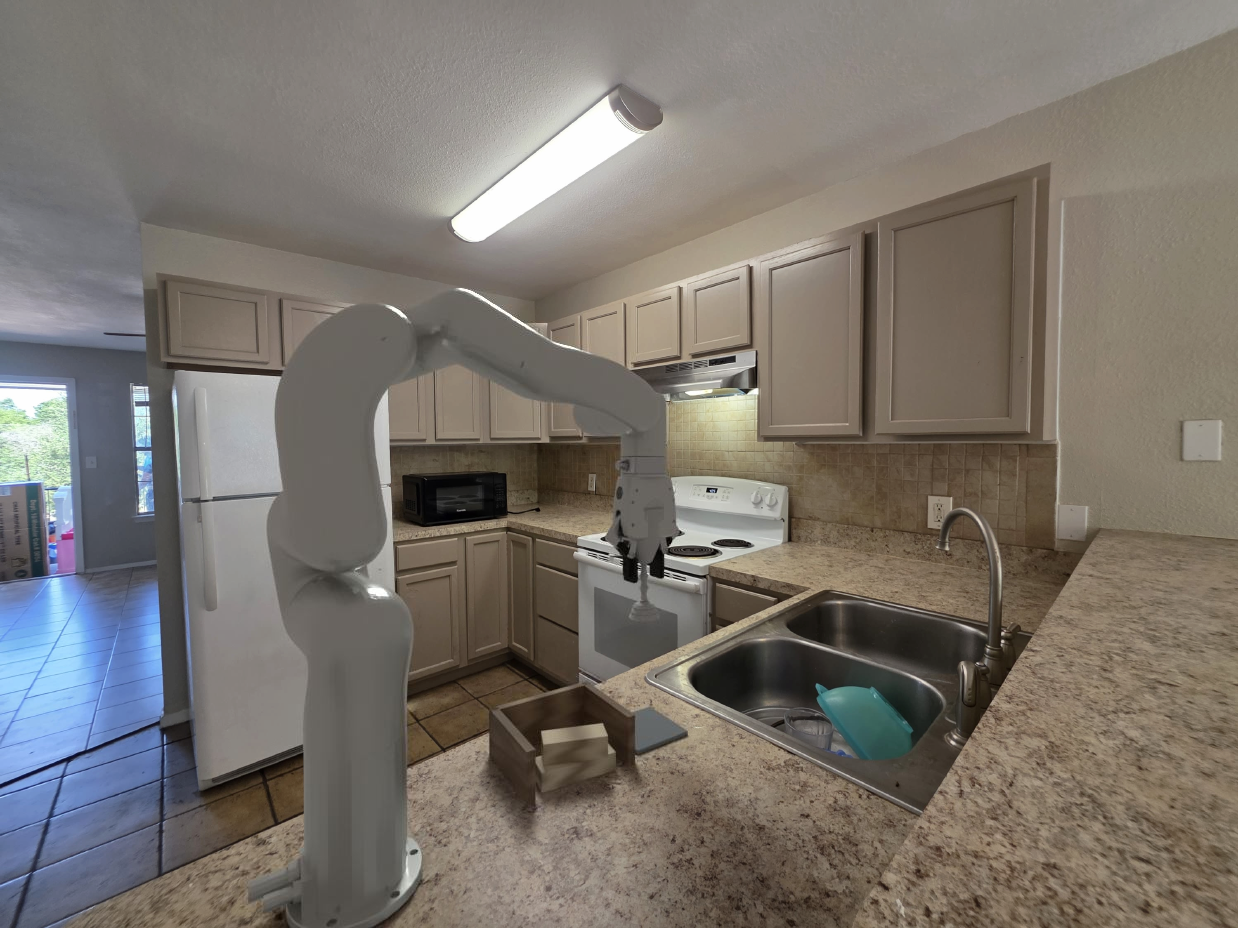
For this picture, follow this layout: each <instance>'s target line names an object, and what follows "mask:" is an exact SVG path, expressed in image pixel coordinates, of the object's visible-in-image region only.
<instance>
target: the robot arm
mask: <svg viewBox="0 0 1238 928" xmlns="http://www.w3.org/2000/svg"><path fill="white" fill-rule="evenodd" d="M455 365H458V366H461V367H462V368H465V369H467V370H469V371H471V372H473V373H475V374H477V375H479V376H480V377H482V378H485V379H487V380H488V381H491V382H492V383H495V384H497V385H498V386H500V387H502V388H504V389H506V390H507V391H510V392H512V393H514V394H515V395H518V396H519V397H522V398H524V399H528V400H532V401H537V402H542V403H550V404H551V403H553V404H567V405H573V407H572V417H573V421H574V423H575V425H576V426H577V428H579V429H580V431H582V432H583V433H584V434H587V435H589V436H594V437H609V436H610V437H612V436H613V437H614V436H618V435H619V436H620V458H619V459H620V460H617V461H615V463H614V467H615V469H616V470H620V471H619V474H620V476H618V477H617V480H616V484H615V489H614V490H615V491H614V498H613V509H612V510H613V511H612V524H611V526H610V528H609V529H608V530H607V532H606V534H605V536H604V539H605V541H606V542H607V543H609V544H610V545H611V546H612V547H613V548H614V549H615V550H616V551H617V552H618V554H619V555H620V556H621V557H622V576H623V577H622V578H623V581H626V582H628V583H631V584H636V583H638V582H639V563H638V559H637V558H635V557H634V556H635V552H636V547H637V543H636V540H643V539H645V538H648V522H647V520H648V518H647V514H645V512H644V511H643V509H660V508H663V510H662V511H661V513H660V515H659V536H660V537H661V540H660V544H659V547H658V549H657V552H656V554H655V556H654V558H653V560H652V562H650V563H648V564H649V566H648V567H649V568H648V569H649V574H648V575H649V577H650V576H651V577H653V578H656V579H661V580H662V579H664V578H665V555H666V554H668V551H669V547H670V546H671V544H672V543H673V540H675V539H676V538H677V536H679V534H680V529H679V527H678V526H677V508H676V499H675V492H674V485H673V481H672V477H671V476H670V475H669V476H667V473H668V472H667V460H668V459H667V450H668V449H667V444H668V443H667V400H666V399H667V398H666V397H665V396H664V394H663V393H660V392H657V391H655V389H654V388H653V387H652V386H651V384H649V383H648V382H647V381H646V380H645V379H644V378H642V377H640V376H639V375H638V374H636V373H635V372H634V371H632V370H631V369H629V368H628V367H626V366H625V365H622V364H621V363H619V362H617V361H615V360H612V359H610V358H607V357H604V356H601V355H598V354H595V353H591V352H588V351H585V350H581V349H579V348H576V347H572V346H569V345H565V344H560V343H558V342H555V341H553V340H551V339H549V338H548V337H546V336H544V335H542V334H541V333H539V332H538V331H537V330H535V329H533V328H531V327H530V326H528V325H527V324H525V323H524V322H522V321H520V320H519V319H517V318H516V317H514V316H512V315H511V314H510V313H508V312H506V311H505V310H503V308H500V307H499V306H497V305H496V304H494V303H492V302H491V301H489V299H488V300H487V299H486V298H484V297H483V296H481V295H480V294H478V293H475V292H474V291H472V290H469V289H465V288H458V287H457V288H449V289H445V290H442V291H441V292H438V293H436V294H434V295H432V296H431V297H429V298H427V299H425V300H423V301H422V302H420V303H417V304H415V305H413V306H411V307H408V308H405V309H401V310H399V309H397V308H396V307H394V306H392V305H390V304H386V303H383V302H376V301H375V302H374V301H373V302H369V301H368V302H367V301H366V302H361V303H360V302H359V303H355V304H353V305H350V306H347V307H345V308H343V309H340V310H339V311H337V312H336V313H334V314H332V315H330V316H329V317H327V318H326V319H324V320H322V321H321V322H320V323H319V324H318V325H316V326H315V327H313V328H312V330H310V331H309V333H308V334H306V336H305V337H304V338H303V339H302V341H301V342H300V343H299V344H298V345H297V347H296V348H295V349H294V351H293V353H292V354H291V356H290V357H289V359H288V361H287V363H286V365H285V367H284V369H283V371H282V374H281V377H280V379H279V382H278V385H277V389H276V394H275V399H274V400H275V402H274V430H275V433H274V434H275V439H276V440H275V441H276V447H277V454H278V465H279V466H278V467H279V472H280V479H281V486H282V491H281V492H279V493H278V495H277V496H276V497H275V498H274V500H273V501H272V503H271V505H270V508H269V509H268V514H267V518H266V539H267V546H268V553H269V557H270V562H271V567H272V573H273V580H274V585H275V591H276V595H277V596H276V597H277V600H278V605H279V610H280V614H281V620H282V623H283V627H284V629H285V631H286V633H287V636H288V637H289V639H290V640H291V641H292V642H293V644H294V645H295V646H296V647H297V648H298V649H299V650H300V651H301V652H302V654H303V655H304V656H305V657H306V663H307V682H306V683H307V684H306V691H305V696H304V697H305V698H304V706H303V707H304V708H303V716H302V717H303V720H302V721H303V724H302V725H303V726H302V751H303V844H301V845H300V846H299V851H298V853H299V855H298V856H299V857H298V858H296V859H293V860H291V861H288V862H287V866H286V867H283V868H281V869H278V870H275V871H271V872H267V873H265V874H262V875H260V876H257V877H255V878H251V879H249V880H248V889H247V890H248V892H247V895H248V896H247V899H248V900H247V902H248V903H247V904H248V905H250V904H253V903H255V902H256V903H257V902H258V901H261V900H262V914H263V915H264V914H267V913H270V912H272V911H274V910H277V909H279V908H280V907H281V906H285V916H286V917H285V918H286V922H287V924H288V926H289V928H373V927H376V926H377V925H378V924H380V923H382V922H383V921H385V920H386V919H388V918H390V916H392V915H394V913H396V911H398V910H399V909H400V908H401V907H402V906H403V905H404V904H405V903H406V902H407V901H408V900H409V899H410V897H411V896H412V895H413V894H414V892H415V891H416V890H417V887H418V886H419V883H420V881H421V879H422V876H423V871H424V869H423V868H424V857H423V850H422V849H421V847H420V845H419V843H418V842H417V841H416V840H415V839H414V838H412V837H410V836H409V835H408V725H407V719H408V717H407V714H408V711H407V710H408V709H407V708H408V707H407V705H408V704H407V703H408V702H407V701H408V698H407V697H408V683H409V682H408V680H409V674H410V673H409V671H410V665H411V661H412V660H411V659H412V655H413V654H412V653H413V648H414V638H415V636H414V634H415V629H414V628H415V627H414V622H413V618H412V615H411V614H412V613H411V611H410V609H409V607H408V605H407V604H406V603H405V600H404V599H402V597H401V596H400V594H399V595H398V593H397V592H395V591H394V590H393V589H391V588H390V587H388V586H386V585H384V584H382V583H380V582H378V581H376V580H374V579H371V578H370V575H369V570H368V565H369V564H371V563H372V562H373V561H374V560H375V559H376V558H377V557H378V556H379V555H380V553H381V551H382V550H383V549H384V546H385V543H386V541H387V536H388V518H387V513H386V509H385V508H386V507H385V503H384V496H383V489H382V484H381V479H380V478H381V476H380V473H379V468H378V467H379V466H378V461H377V454H376V453H377V452H376V441H375V419H376V413H377V410H378V406H379V405H380V404H379V403H380V402H381V400H382V398H383V396H384V395H385V393H386V392H387V391H388V389H389V388H390V387H392V386H396V385H399V384H401V383H405V382H408V381H410V380H414V379H417V378H421V377H422V376H425V375H428V374H431V373H433V372H436V371H439V370H442V369H446V368H447V367H448V368H449V367H452V366H455ZM620 538H621V539H620ZM628 541H630V542H629V543H628Z"/></svg>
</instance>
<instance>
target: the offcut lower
mask: <svg viewBox="0 0 1238 928" xmlns="http://www.w3.org/2000/svg"><path fill="white" fill-rule="evenodd" d="M616 770H617V755H616V752H615V751H614V749H613V748H612V747H611V746H610V745H609V744H608V757H607V758H600V759H593V760H586V761H579V762H572V763H565V764H558V765H551V766H543V760H542V755H539V756H536V785H537V786H538V788H539V790H540V792H541V794H542V793H546V792H549V791H552V790H556V789H559V788H562V787H565V785H566V786H568V785H571V784H575V782H576V783H579V782H581V780H582V781H585V780H588V779H587V778H589V779H592V778H596V777H598V775H599V776H602V775H605V774H608V773H611V772H614V771H616Z"/></svg>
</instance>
